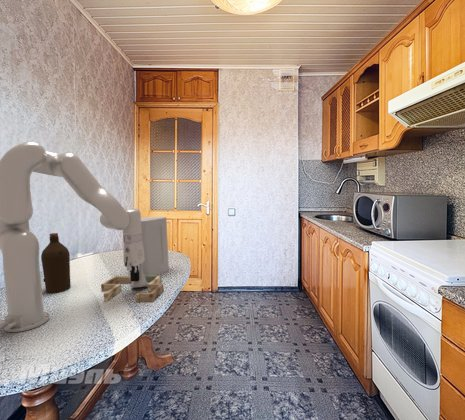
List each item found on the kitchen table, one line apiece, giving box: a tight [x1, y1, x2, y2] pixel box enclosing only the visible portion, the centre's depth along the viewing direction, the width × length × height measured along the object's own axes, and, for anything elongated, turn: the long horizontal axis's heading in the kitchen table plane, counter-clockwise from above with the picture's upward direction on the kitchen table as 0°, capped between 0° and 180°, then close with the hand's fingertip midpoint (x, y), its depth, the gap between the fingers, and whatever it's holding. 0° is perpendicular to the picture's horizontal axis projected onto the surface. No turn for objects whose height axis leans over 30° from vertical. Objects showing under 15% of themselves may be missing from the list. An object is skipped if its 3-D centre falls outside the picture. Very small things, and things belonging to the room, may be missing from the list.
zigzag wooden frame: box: [100, 274, 165, 303], centre depth 123 cm, size 23×27×3 cm
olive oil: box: [40, 232, 72, 294], centre depth 127 cm, size 11×11×25 cm
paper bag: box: [141, 216, 170, 275], centre depth 145 cm, size 19×15×28 cm
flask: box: [129, 263, 149, 288], centre depth 127 cm, size 7×7×10 cm
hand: (135, 280), depth 123 cm, fingers closed
